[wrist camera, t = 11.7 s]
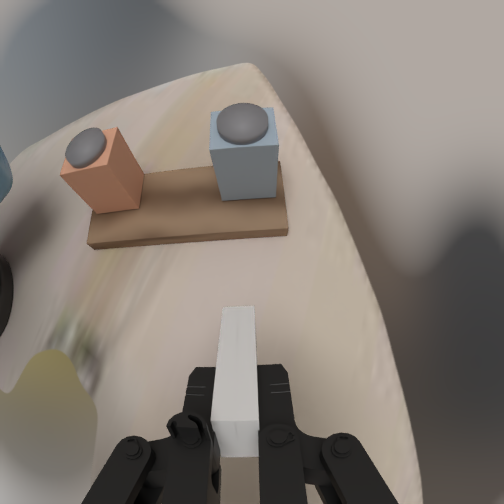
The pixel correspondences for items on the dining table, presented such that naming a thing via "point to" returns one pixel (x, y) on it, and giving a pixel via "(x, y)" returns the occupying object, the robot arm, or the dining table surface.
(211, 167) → the button board
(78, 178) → the salmon button
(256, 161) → the slate button
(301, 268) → the dining table surface
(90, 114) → the dining table surface
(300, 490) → the robot arm
